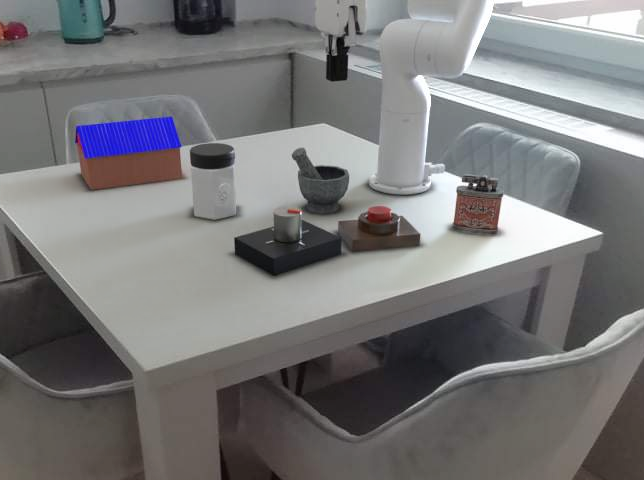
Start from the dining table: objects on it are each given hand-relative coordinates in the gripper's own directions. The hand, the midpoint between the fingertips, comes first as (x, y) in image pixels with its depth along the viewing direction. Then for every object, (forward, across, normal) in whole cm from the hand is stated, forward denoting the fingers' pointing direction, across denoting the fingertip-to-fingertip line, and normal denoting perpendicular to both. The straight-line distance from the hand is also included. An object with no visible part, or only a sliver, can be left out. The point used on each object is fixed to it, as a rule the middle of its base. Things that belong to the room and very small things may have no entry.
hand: (336, 79), depth 125 cm
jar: (+25, +14, +18) cm, 34 cm away
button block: (+25, -10, -4) cm, 27 cm away
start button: (+22, -10, -4) cm, 24 cm away
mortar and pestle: (+25, +8, -1) cm, 27 cm away
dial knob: (+22, -10, +13) cm, 27 cm away
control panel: (+25, -10, +13) cm, 30 cm away
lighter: (+25, -13, -22) cm, 36 cm away
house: (+25, +42, +28) cm, 56 cm away
